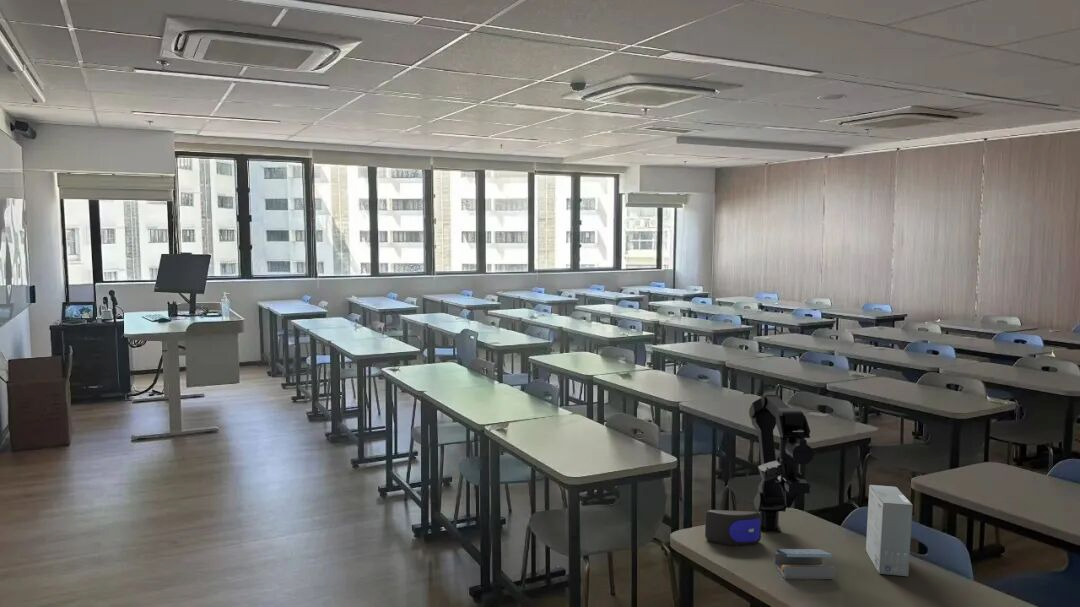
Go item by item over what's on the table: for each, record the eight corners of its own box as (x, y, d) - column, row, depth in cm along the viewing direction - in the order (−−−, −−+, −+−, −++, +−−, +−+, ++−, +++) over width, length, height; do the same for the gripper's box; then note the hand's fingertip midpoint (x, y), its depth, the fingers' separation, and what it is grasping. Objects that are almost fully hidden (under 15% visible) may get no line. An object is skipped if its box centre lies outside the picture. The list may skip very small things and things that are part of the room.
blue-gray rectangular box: (776, 552, 197) (776, 549, 197) (820, 552, 197) (820, 549, 197) (786, 556, 189) (786, 553, 189) (832, 557, 189) (831, 554, 189)
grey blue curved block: (706, 545, 210) (707, 514, 209) (704, 538, 214) (705, 508, 214) (763, 547, 208) (764, 516, 208) (759, 541, 213) (760, 510, 212)
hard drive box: (909, 577, 190) (913, 505, 189) (878, 574, 192) (882, 503, 190) (893, 552, 206) (896, 485, 204) (864, 550, 207) (867, 483, 205)
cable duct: (774, 564, 197) (774, 552, 197) (821, 565, 197) (821, 552, 197) (784, 579, 189) (785, 566, 188) (833, 579, 189) (834, 567, 188)
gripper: (752, 444, 213) (750, 495, 215) (771, 463, 195) (770, 519, 196) (789, 445, 213) (787, 495, 215) (812, 464, 195) (810, 519, 196)
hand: (788, 507), depth 205 cm, fingers closed
